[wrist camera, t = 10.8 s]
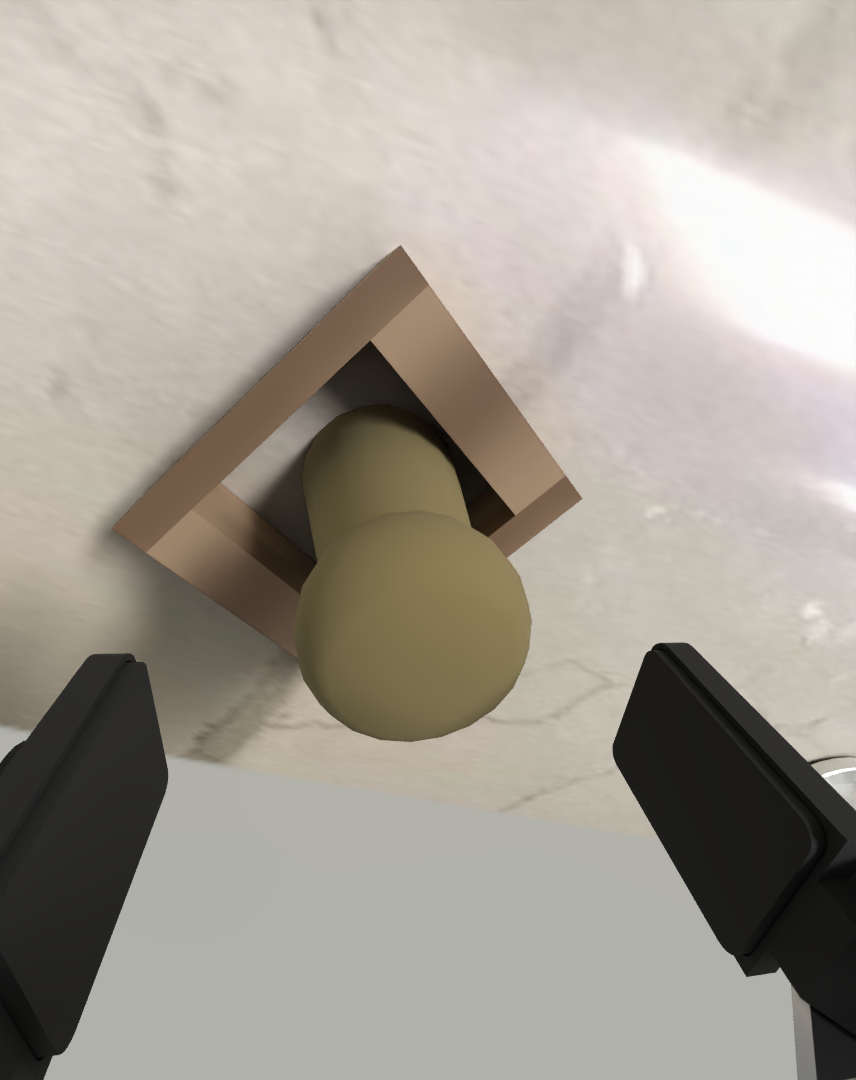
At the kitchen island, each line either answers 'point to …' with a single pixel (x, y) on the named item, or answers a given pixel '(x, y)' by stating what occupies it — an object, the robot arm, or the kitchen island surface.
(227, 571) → the walnut holder
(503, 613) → the tan rounded tapered piece
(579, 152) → the kitchen island surface
